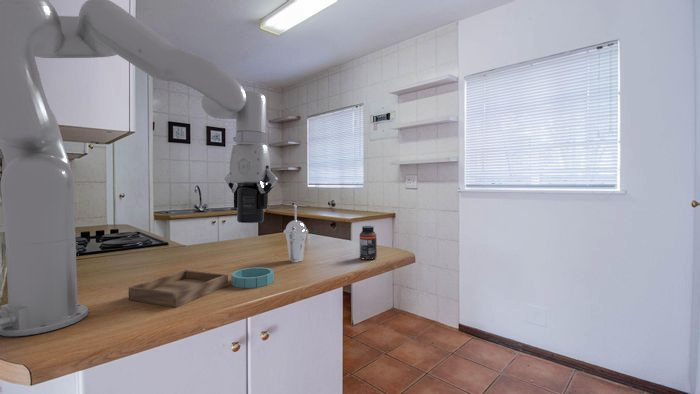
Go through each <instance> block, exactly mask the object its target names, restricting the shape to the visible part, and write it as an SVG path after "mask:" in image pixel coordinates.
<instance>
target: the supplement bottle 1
mask: <svg viewBox="0 0 700 394" xmlns="http://www.w3.org/2000/svg"><path fill="white" fill-rule="evenodd" d="M238 187H239V186H238ZM258 194H260V191H259V188H258V186H257V183H242V186H241V187H239V188H238V190H237V208H236V220H237V222H238V223H241V224H244V223H245V224H256V223H263V222H264V220H265V209H258Z"/></svg>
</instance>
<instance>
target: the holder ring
mask: <svg viewBox="0 0 700 394" xmlns="http://www.w3.org/2000/svg"><path fill="white" fill-rule="evenodd" d="M274 272H275V271H274V269H272V268H269V267H247V268H243V269H242V268H241V269H237V270H235V271H233V272H232V273H231V276H230V277H231V278H230V279H231V283H230V284H231V285H232V286H233V287H235V288H240V289H255V288H261V287H266V286H269V285H271V284H272V283H274V281H275V279H274V277H275V275H274V274H275V273H274Z"/></svg>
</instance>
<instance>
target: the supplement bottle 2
mask: <svg viewBox="0 0 700 394" xmlns="http://www.w3.org/2000/svg"><path fill="white" fill-rule="evenodd" d="M374 229H375V227H374V226H373V225H364V226H362V227H361V232H360V233H359V258H360V259H361V258H364V259H372V258H376V259H377V254H378V253H377V251H378V250H377V249H378V248H377V246H378V245H377V244H378V243H377V233H376V232H375V231H374Z"/></svg>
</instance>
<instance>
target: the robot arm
mask: <svg viewBox="0 0 700 394" xmlns="http://www.w3.org/2000/svg"><path fill="white" fill-rule="evenodd" d="M113 56H119V57H120V58H122V59H124V60H125V61H126V62H128V63H130V64H132V66H135V67H136V68H137V69H139V70H140V71H142V72H143V73H145V74H146V75H148V76H150V77H152V78H153V79H157V80H159V81H164V82H174V83H178V84H181V85H185V86H187V87H190V88H191V89H193V90H194V91H197V92H198V93H200V94H202V95H203V96H202V98H201V107H202V110H203V112H205V113H206V115H208V116H209V117H212V118H213V119H219V120H220V119H221V120H225V119H226V120H235V136H234V137H233V138H232V139H233V142H235V144H233V145H232V150H231V155H230V160H229V161H230V162H229V171H228V172H229V173H228V174H227V175H226V176H225V177H224V181H225V182H226V184H227V185H228V187H229V189H230V190H231V192H232V194H233V208H234V209H237V190H238V188H239V187H241V186H242V183H257V186H258V188H259V191H260V194H258V209H264V210H267V209H268V201H269V200H268V197H269V195H268V194H270V192H271V190H272V189H273V188H274V187H275V185H276V184H277V183H278V181H279V177H277V176H276V175H275V174H274V173H273V172H272V171H271V158H270V152H269V147H268V145H267V143H266V142H267V134H266V133H267V98H266V96H265V95H264V94H263V93H261V92H259V91H255V90H245V89H244V87H243V86H242V84H241V83H239V82H238V80H236V79H235V78H234V77H233V76H231V75H230V74H229V73H227V72H226V71H225V70H223V69H222V68H221V67H219V66H218V65H216V64H215V63H213V62H211V61H210V60H208V59H206V58H204V57H203V56H199V55H197V54H196V53H192V52H191V51H188V50H185V49H182V48H179V47H177V46H176V45H174V44H172V43H171V42H170V41H168V40H167V39H165V38H164V37H163V36H161V35H159V34H158V33H157V32H156V31H154V30H153V29H151V28H150V27H149V26H148V25H146V24H144V23H143V22H142V21H140V19H138V18H137V17H135V16H133V15H132V14H131V13H130V12H128V11H127V10H125V9H124V8H122V7H121V6H119V4H116V3H115V2H113V1H111V0H86V1H85V2H84V3H83V4H82V5H81V7H80V9H79V13H78V15H77V16H75V15H74V16H73V15H71V16H70V15H59V14H58V12H57V9H56V8H55V6H53V4H52V3H51V2H50V1H49V0H0V150H1V152H2V156H3V158H4V162H5V168H4V169H3V171H2V174H1V179H0V193H1V202H2V210H3V211H2V212H3V219H4V237H5V255H6V256H5V258H6V259H5V260H6V281H7V282H6V283H7V303H5V304H1V305H0V336H3V337H23V336H24V337H25V336H32V335H39V334H42V333H46V332H51V331H55V330H58V329H62V328H65V327H68V326H71V325H73V324H76V323H77V322H79V321H81V320H84V318H86V316H88V315H89V310H88V309H89V308H88V306H86V305H84V304H79V303H78V302H79V301H78V277H77V276H78V274H77V244H76V241H77V239H76V220H75V219H76V216H75V215H76V214H75V213H76V212H75V176H74V173H73V170H72V167H71V163H70V160H69V157H68V153H67V150H66V147H65V144H64V141H63V136H62V133H61V130H60V126H59V123H58V120H57V118H56V116H55V114H54V112H53V110H52V109H51V108H50V105H49V102H48V99H47V97H46V93H45V89H44V87H43V85H42V81H41V76H40V75H41V74H40V71H39V68H38V65H37V62H36V58H42V59H43V58H44V59H88V58H89V59H91V58H92V59H95V58H109V57H113Z"/></svg>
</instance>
